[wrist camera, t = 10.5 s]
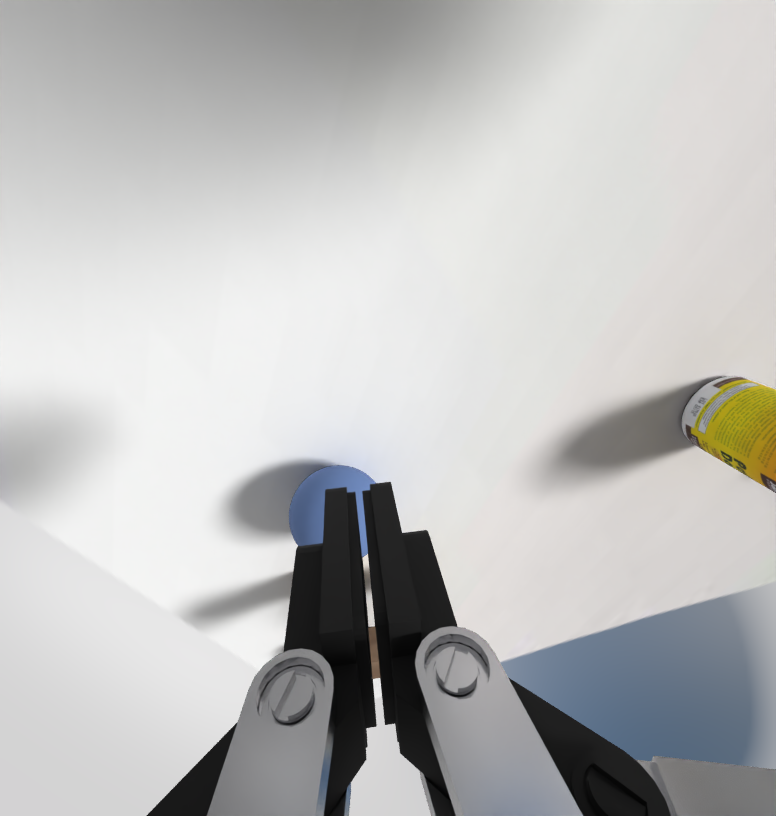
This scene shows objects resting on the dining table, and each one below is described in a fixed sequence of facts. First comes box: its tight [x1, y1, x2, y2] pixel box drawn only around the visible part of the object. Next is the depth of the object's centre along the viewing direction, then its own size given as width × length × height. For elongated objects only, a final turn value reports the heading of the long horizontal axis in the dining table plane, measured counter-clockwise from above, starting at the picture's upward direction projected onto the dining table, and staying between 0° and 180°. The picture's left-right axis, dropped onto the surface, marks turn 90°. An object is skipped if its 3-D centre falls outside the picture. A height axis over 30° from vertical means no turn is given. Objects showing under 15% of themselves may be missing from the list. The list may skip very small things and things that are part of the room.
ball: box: [289, 465, 376, 557], centre depth 25 cm, size 6×6×6 cm
